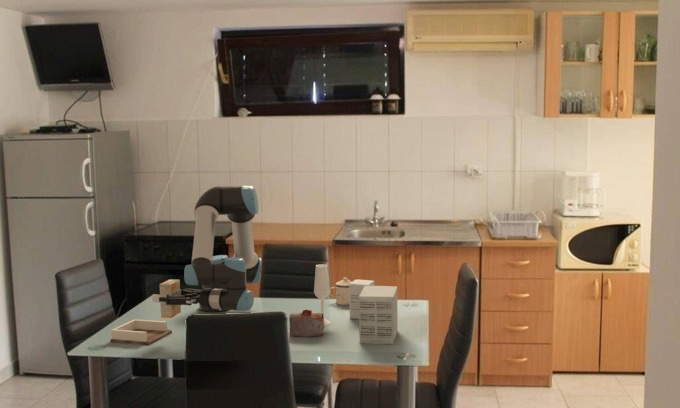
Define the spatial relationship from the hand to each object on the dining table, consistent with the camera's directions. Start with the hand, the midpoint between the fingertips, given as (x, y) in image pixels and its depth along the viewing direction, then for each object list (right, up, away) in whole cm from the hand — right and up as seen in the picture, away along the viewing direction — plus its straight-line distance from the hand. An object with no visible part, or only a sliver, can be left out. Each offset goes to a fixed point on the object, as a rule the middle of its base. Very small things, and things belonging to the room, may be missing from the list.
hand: (159, 295), depth 264 cm
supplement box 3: (+84, -16, -1) cm, 86 cm away
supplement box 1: (+5, -8, 0) cm, 9 cm away
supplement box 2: (+79, -13, +28) cm, 84 cm away
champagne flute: (+62, -14, +20) cm, 67 cm away
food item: (+56, -16, +4) cm, 59 cm away
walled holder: (-9, -17, +5) cm, 20 cm away
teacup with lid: (+70, -10, +52) cm, 88 cm away
